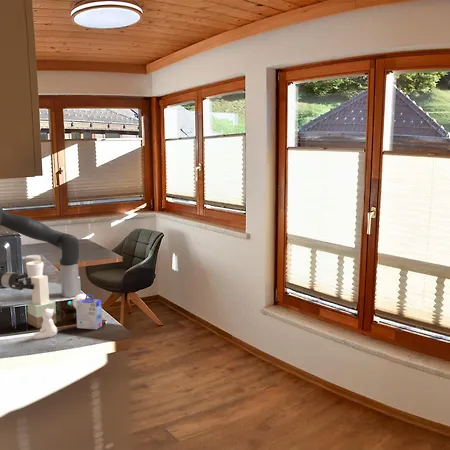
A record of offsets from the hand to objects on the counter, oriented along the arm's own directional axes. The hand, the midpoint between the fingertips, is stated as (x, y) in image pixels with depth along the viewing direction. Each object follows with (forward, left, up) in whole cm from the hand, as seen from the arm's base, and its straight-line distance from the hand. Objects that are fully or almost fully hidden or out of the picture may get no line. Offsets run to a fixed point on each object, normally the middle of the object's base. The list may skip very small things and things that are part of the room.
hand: (40, 284), depth 227 cm
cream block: (0, 0, -8) cm, 8 cm away
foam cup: (-29, -66, -18) cm, 74 cm away
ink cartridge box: (-12, +20, -18) cm, 30 cm away
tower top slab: (0, 0, -13) cm, 13 cm away
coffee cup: (-39, -89, -18) cm, 99 cm away
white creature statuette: (+6, +16, -18) cm, 25 cm away
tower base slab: (0, 0, -18) cm, 18 cm away
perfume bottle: (-22, -6, -18) cm, 29 cm away
